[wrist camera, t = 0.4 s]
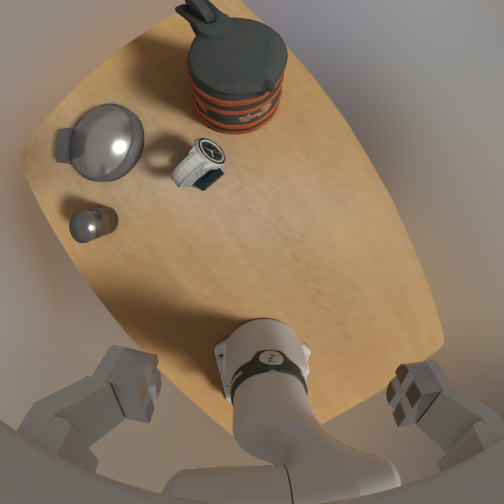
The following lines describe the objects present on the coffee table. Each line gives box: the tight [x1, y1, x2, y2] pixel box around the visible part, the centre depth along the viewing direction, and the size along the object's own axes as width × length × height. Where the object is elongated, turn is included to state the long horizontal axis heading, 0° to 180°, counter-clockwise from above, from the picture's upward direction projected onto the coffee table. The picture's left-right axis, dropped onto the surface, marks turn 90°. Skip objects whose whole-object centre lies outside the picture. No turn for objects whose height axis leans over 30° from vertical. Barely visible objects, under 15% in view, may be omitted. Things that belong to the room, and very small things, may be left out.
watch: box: [171, 138, 226, 191], centre depth 38 cm, size 6×8×11 cm
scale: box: [56, 104, 144, 182], centre depth 39 cm, size 14×16×5 cm
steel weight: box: [69, 207, 118, 243], centre depth 40 cm, size 5×5×9 cm
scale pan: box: [70, 105, 133, 177], centre depth 38 cm, size 13×13×1 cm
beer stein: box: [175, 0, 288, 134], centre depth 31 cm, size 19×15×20 cm
